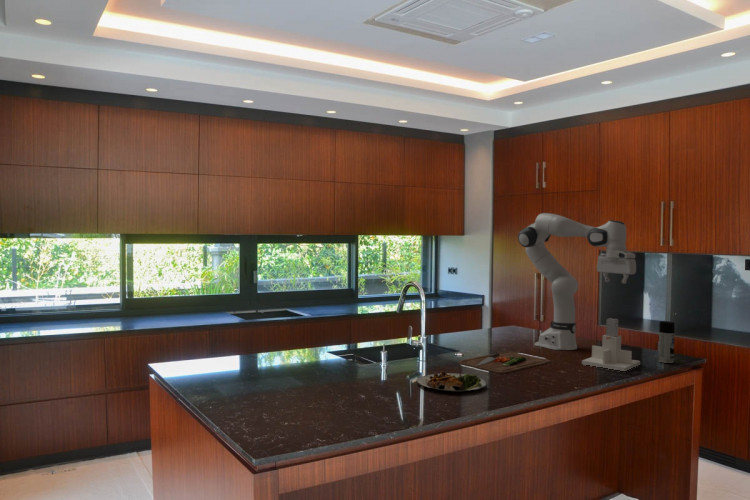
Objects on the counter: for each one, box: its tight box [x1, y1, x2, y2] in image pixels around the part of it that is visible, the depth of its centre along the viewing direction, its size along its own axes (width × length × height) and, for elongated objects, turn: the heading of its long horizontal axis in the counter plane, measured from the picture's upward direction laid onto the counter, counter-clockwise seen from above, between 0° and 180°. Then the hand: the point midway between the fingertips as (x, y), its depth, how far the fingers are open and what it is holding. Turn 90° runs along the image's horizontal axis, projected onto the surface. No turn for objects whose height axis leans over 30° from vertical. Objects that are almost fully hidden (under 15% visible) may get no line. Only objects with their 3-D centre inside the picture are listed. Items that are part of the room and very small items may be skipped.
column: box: [605, 317, 619, 337], centre depth 273 cm, size 4×4×18 cm
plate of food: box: [416, 370, 487, 393], centre depth 233 cm, size 28×28×6 cm
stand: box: [581, 334, 641, 372], centre depth 273 cm, size 20×20×14 cm
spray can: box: [658, 320, 675, 364], centre depth 280 cm, size 7×7×20 cm
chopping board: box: [458, 351, 551, 375], centre depth 275 cm, size 45×27×3 cm, turn 130°
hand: (615, 282), depth 277 cm, fingers open, 8 cm apart
